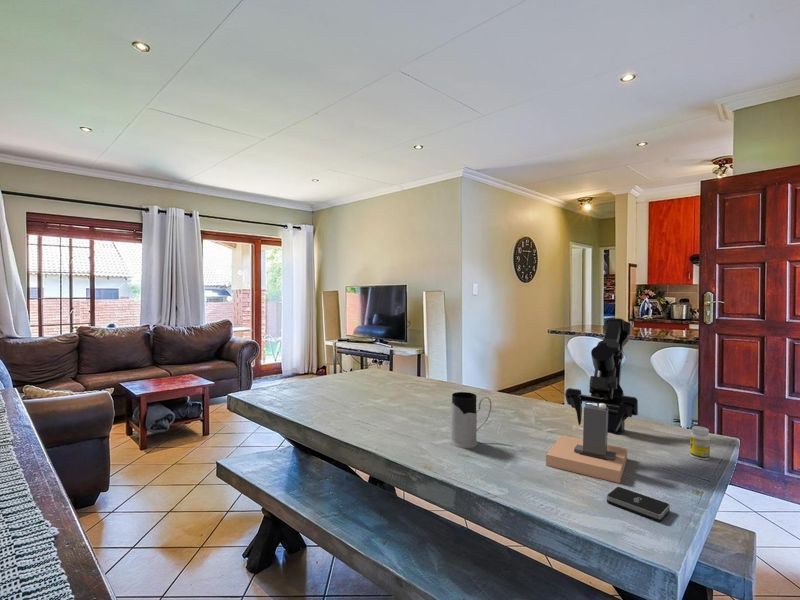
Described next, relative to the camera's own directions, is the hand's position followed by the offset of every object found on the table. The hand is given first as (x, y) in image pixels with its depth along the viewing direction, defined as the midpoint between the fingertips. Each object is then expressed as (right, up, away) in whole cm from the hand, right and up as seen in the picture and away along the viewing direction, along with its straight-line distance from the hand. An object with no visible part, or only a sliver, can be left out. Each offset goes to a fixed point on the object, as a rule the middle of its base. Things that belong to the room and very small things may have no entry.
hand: (596, 427), depth 116 cm
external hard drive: (-2, -11, -23) cm, 26 cm away
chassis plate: (-3, -10, 0) cm, 10 cm away
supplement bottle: (+32, -10, +5) cm, 34 cm away
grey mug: (-33, -9, +15) cm, 37 cm away
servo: (-1, -10, -2) cm, 10 cm away
